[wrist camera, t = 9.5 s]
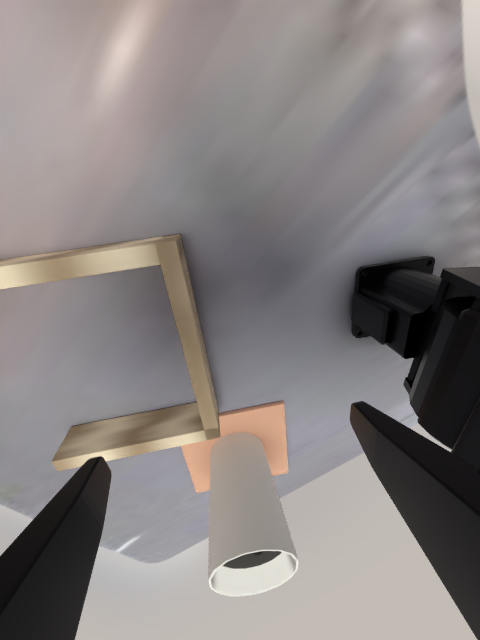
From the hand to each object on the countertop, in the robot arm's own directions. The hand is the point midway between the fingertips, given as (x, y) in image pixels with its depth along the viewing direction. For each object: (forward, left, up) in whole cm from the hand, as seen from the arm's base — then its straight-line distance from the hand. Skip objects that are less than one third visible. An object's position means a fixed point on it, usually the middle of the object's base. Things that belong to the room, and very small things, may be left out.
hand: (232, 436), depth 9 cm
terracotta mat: (+1, +17, -12) cm, 21 cm away
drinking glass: (+1, +17, -12) cm, 21 cm away
